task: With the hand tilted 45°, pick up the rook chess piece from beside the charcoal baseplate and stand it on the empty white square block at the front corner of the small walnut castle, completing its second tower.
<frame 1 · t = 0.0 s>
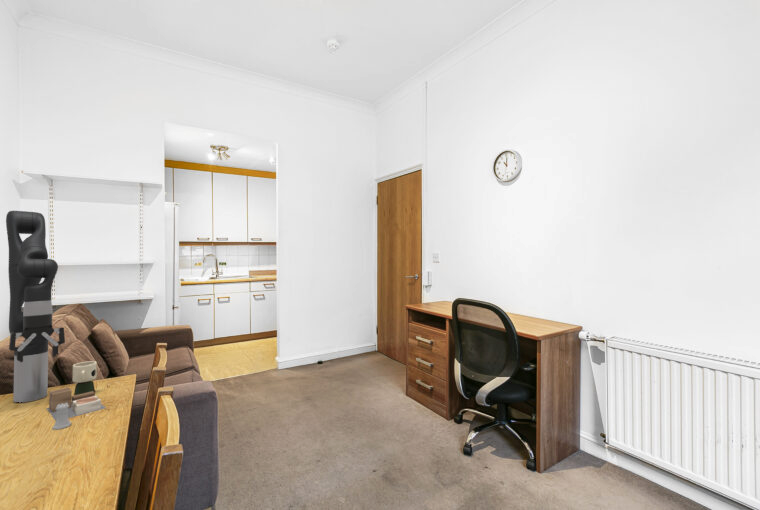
hand: (38, 359, 126), 17 cm above the table, tool pointing down, fingers open, 8 cm apart
character mug: (84, 398, 135), on the table
walnut castle blocks: (73, 396, 125), on the baseplate, point 4 cm above the table
white square block: (86, 409, 121), resting on baseplate
rook chess piece: (62, 430, 109), on the table
baseplate: (76, 411, 122), on the table
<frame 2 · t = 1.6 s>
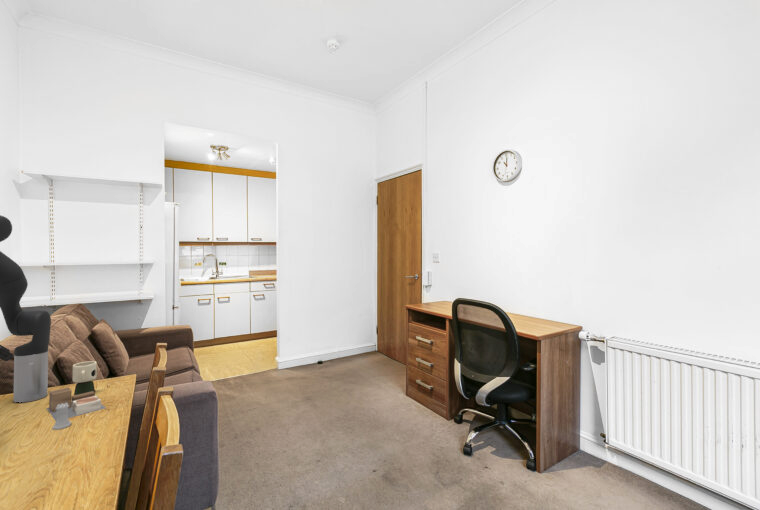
hand: (8, 355, 102), 25 cm above the table, tool tilted 45°, fingers open, 8 cm apart
nothing on the table moved.
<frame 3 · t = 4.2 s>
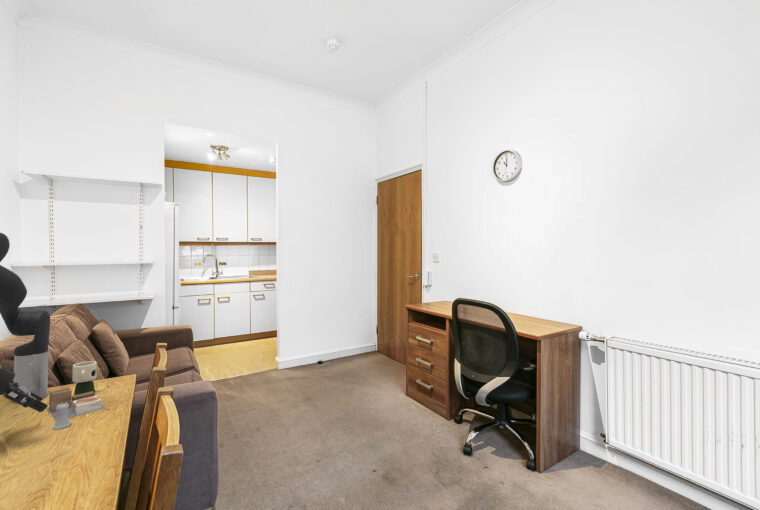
hand: (42, 405, 105), 9 cm above the table, tool tilted 45°, fingers open, 8 cm apart
nothing on the table moved.
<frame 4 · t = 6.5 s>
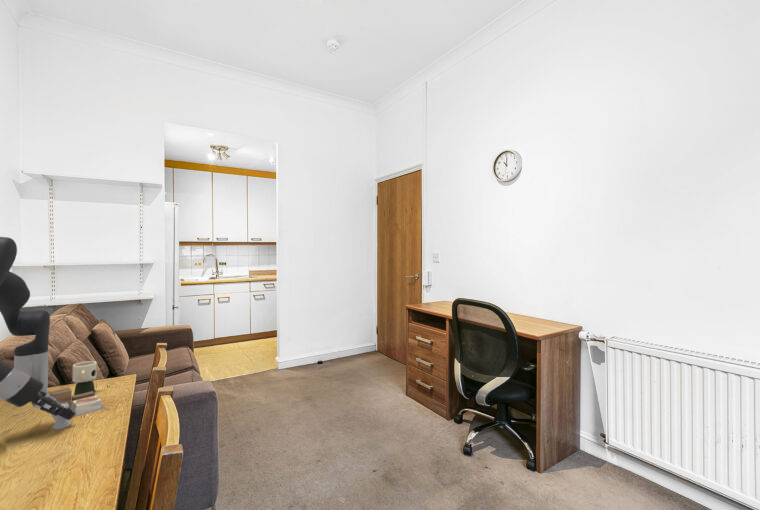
hand: (70, 414, 110), 4 cm above the table, tool tilted 45°, fingers closed on rook chess piece, 3 cm apart
rook chess piece: (62, 430, 109), on the table, touching gripper
everything else where it was.
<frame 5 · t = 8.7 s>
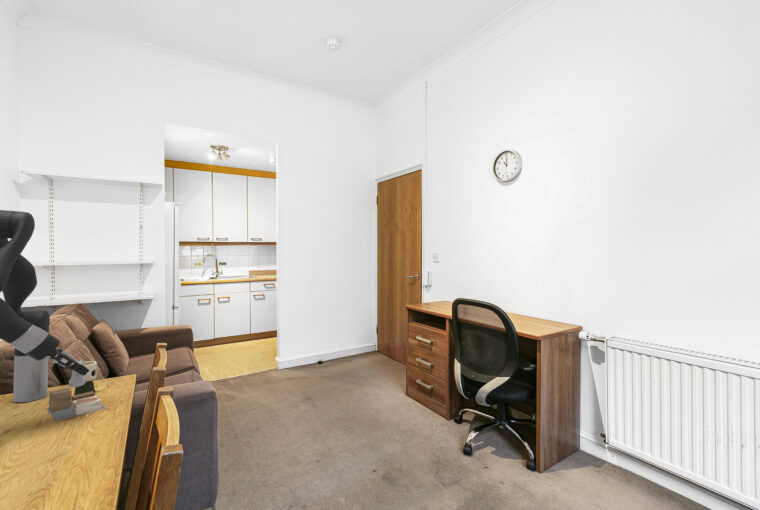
hand: (84, 371, 118), 15 cm above the table, tool tilted 45°, fingers closed on rook chess piece, 3 cm apart
rook chess piece: (76, 385, 116), point 11 cm above the table, touching gripper
everything else where it was.
when the fingers open (10 cm above the table, at t = 10.8 s): rook chess piece drops 1 cm, resting on white square block.
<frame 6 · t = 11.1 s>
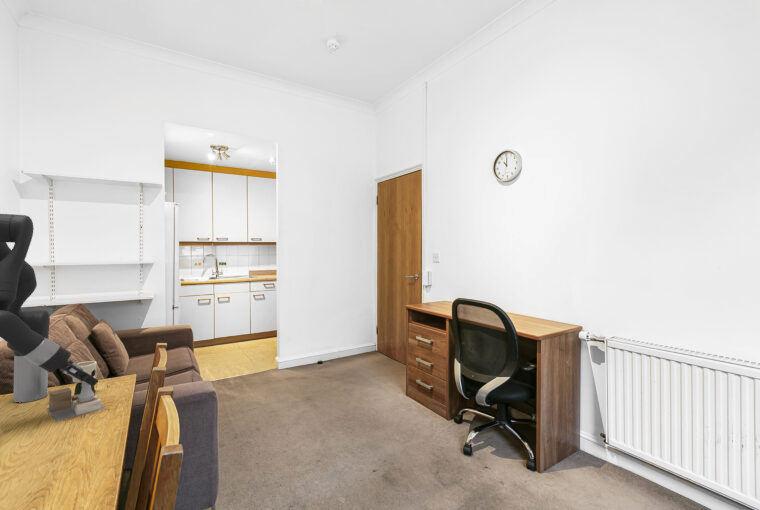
hand: (93, 381, 123), 10 cm above the table, tool tilted 45°, fingers open, 6 cm apart
rook chess piece: (86, 400, 121), point 4 cm above the table, touching white square block
everything else where it was.
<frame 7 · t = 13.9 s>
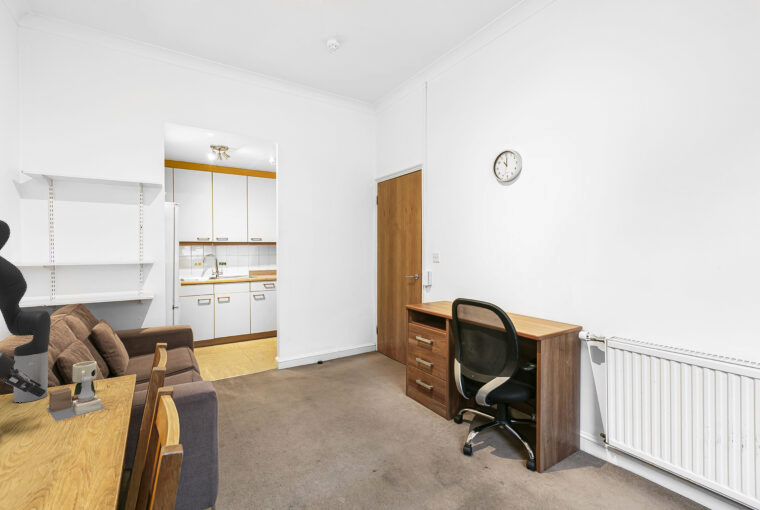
hand: (40, 390, 112), 11 cm above the table, tool tilted 45°, fingers open, 8 cm apart
nothing on the table moved.
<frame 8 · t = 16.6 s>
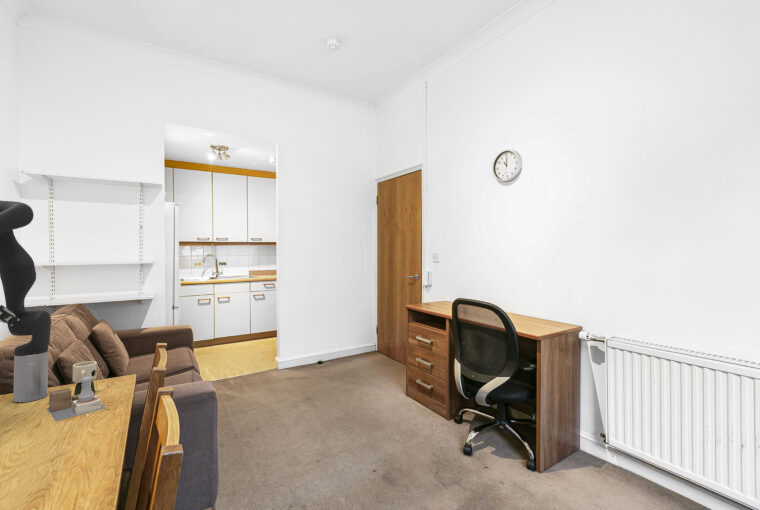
hand: (25, 328, 113), 31 cm above the table, tool tilted 45°, fingers open, 8 cm apart
nothing on the table moved.
at the end: rook chess piece 0.2 cm off-centre on the white square block, point 3.0 cm above the white square block's base; rook chess piece tilted 0°; the gripper is holding nothing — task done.
